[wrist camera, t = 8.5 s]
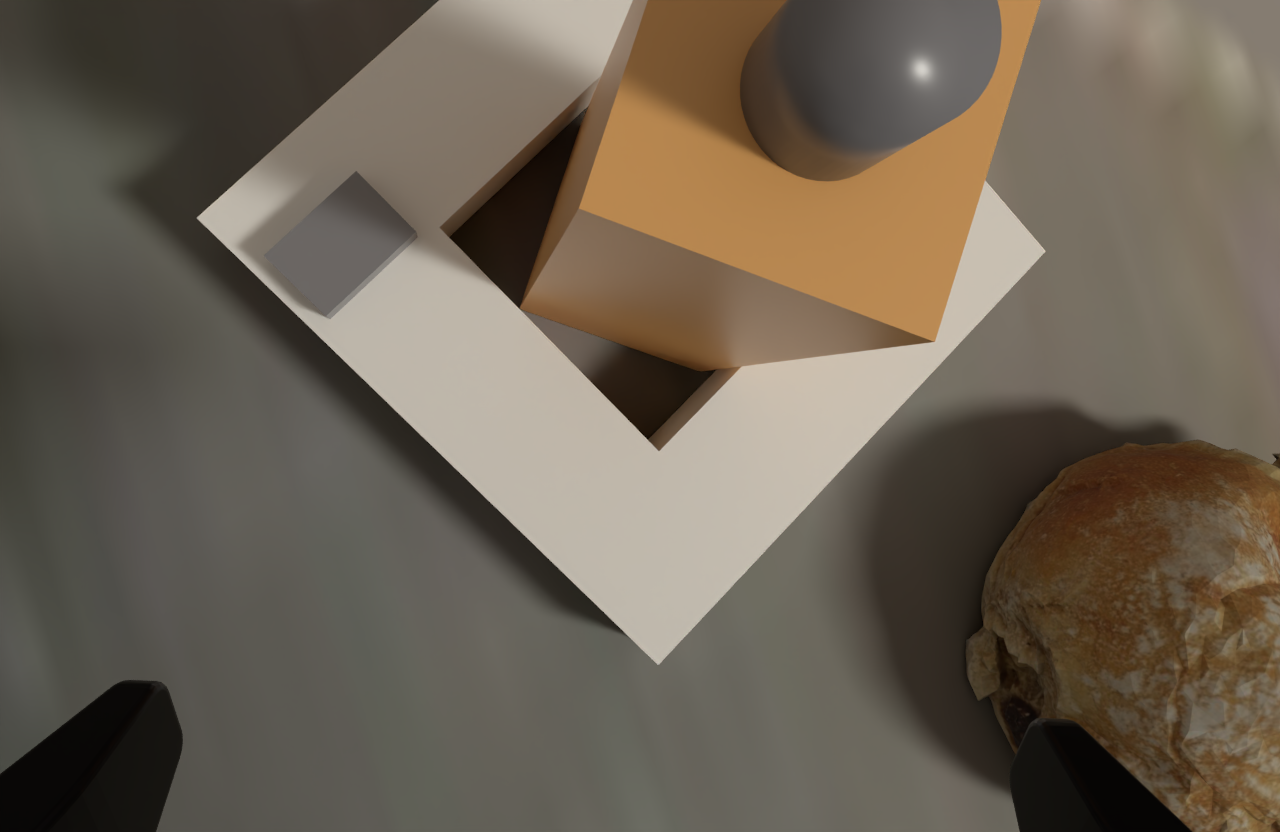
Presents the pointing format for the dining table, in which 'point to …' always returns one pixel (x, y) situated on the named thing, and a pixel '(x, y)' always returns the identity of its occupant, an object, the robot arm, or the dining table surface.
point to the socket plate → (520, 353)
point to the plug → (779, 176)
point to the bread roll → (1149, 624)
